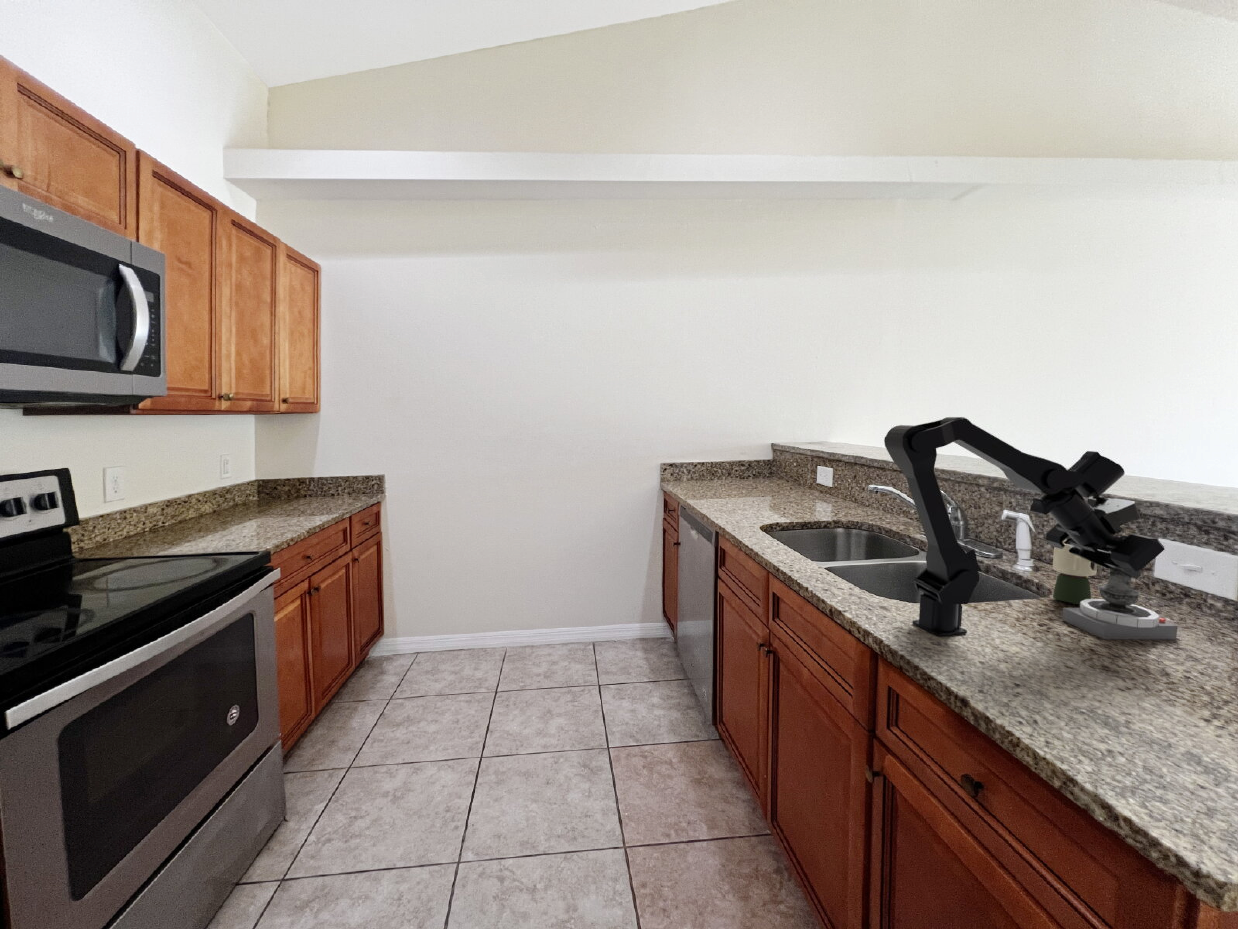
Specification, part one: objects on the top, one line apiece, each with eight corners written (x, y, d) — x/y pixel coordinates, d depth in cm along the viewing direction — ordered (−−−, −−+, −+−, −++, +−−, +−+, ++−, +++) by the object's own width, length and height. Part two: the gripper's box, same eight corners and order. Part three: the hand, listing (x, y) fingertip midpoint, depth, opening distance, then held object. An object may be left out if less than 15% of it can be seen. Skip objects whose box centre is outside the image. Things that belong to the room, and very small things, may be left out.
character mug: (1097, 614, 108) (1102, 551, 107) (1052, 606, 112) (1056, 546, 111) (1090, 599, 117) (1094, 540, 116) (1048, 593, 121) (1052, 536, 120)
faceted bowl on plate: (1107, 641, 95) (1109, 619, 95) (1059, 618, 105) (1060, 598, 105) (1180, 641, 95) (1182, 619, 95) (1124, 618, 105) (1126, 599, 105)
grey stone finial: (1088, 605, 102) (1095, 543, 100) (1107, 601, 104) (1113, 541, 103) (1127, 616, 96) (1134, 551, 95) (1146, 612, 98) (1153, 548, 97)
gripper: (1159, 491, 89) (1218, 557, 90) (1065, 478, 107) (1115, 533, 108) (1107, 537, 89) (1166, 602, 90) (1023, 516, 108) (1072, 571, 109)
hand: (1127, 574), depth 99 cm, fingers closed on grey stone finial, 3 cm apart
